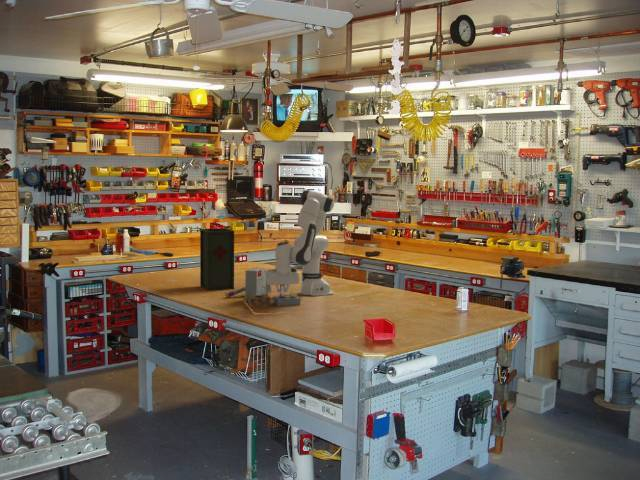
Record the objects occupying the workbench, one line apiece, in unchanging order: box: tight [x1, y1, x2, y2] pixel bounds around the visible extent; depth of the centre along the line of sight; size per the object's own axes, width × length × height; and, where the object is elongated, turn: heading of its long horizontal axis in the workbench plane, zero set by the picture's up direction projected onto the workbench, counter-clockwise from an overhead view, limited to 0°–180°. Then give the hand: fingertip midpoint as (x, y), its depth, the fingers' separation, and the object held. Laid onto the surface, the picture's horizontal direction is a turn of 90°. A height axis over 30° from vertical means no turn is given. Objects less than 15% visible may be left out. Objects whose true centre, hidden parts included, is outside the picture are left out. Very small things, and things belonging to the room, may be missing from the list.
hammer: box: [225, 284, 272, 299], centre depth 421 cm, size 15×8×30 cm
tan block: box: [289, 291, 298, 298], centre depth 395 cm, size 3×5×6 cm, turn 16°
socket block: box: [273, 295, 301, 307], centre depth 394 cm, size 14×10×5 cm
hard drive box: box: [244, 267, 267, 303], centre depth 406 cm, size 16×8×20 cm, turn 162°
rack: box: [247, 294, 272, 310], centre depth 389 cm, size 12×10×6 cm
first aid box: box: [199, 227, 235, 292], centre depth 446 cm, size 18×18×40 cm
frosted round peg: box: [279, 284, 286, 298], centre depth 393 cm, size 3×3×12 cm
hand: (282, 291), depth 393 cm, fingers closed on frosted round peg, 3 cm apart
